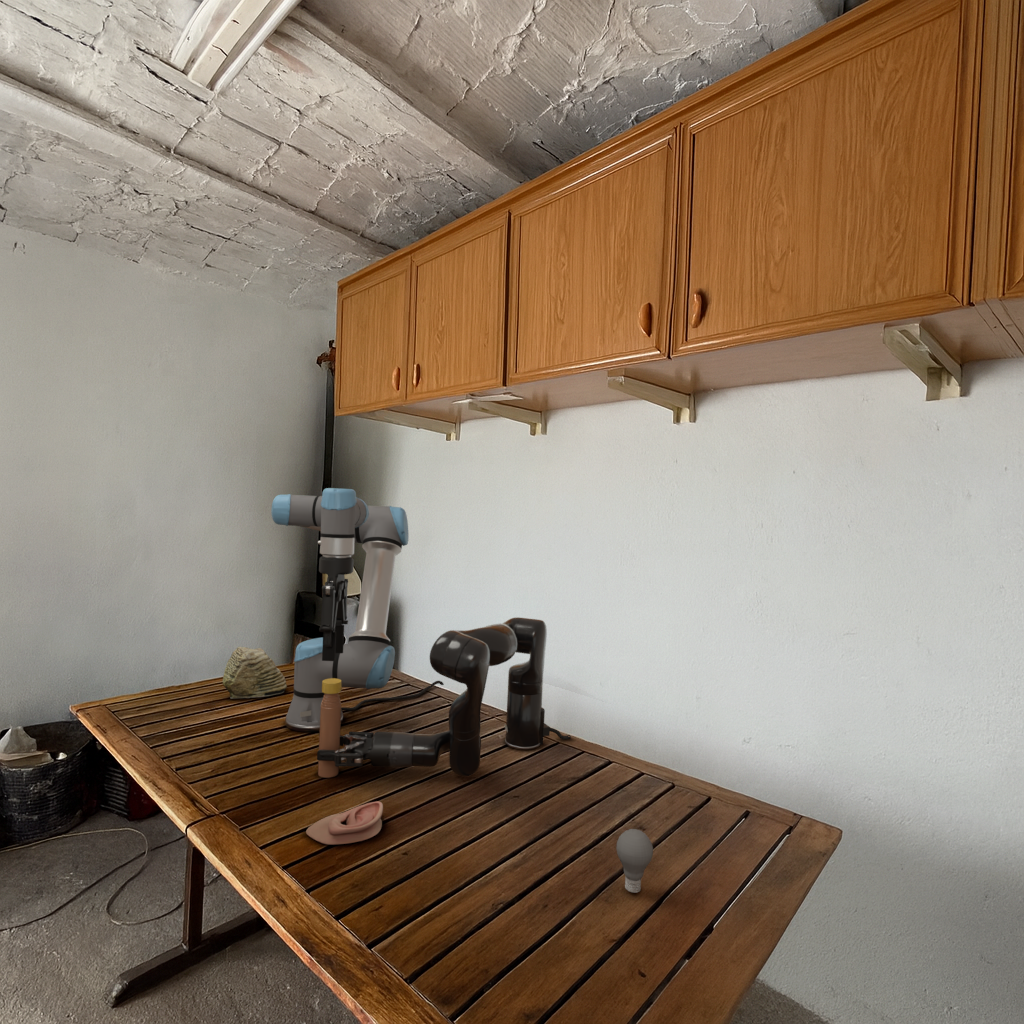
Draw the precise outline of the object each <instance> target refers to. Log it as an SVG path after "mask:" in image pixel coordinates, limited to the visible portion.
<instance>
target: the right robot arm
mask: <svg viewBox="0 0 1024 1024" xmlns="http://www.w3.org/2000/svg"><path fill="white" fill-rule="evenodd" d="M546 624H547V623H546V622H545V621H544V620H542V619H537V618H528V617H517V616H516V617H512V618H509V619H507V620H506V621H504V622H501V623H493V624H489V625H486V626H482V627H477V628H472V629H467V630H459V629H453V630H452V629H451V630H447V631H445V632H443V633H442V634H441V635H440V636H439V637H437V639H436V640H435V641H434V643H433V644H432V646H431V648H430V652H429V663H430V667H431V668H432V669H433V671H435V672H436V673H437V674H439V675H441V676H443V677H445V678H447V679H450V680H453V681H455V682H457V683H460V684H464V685H465V686H466V689H465V690H464V691H463V692H462V693H461V694H459V695H458V696H457V697H456V698H455V699H454V700H453V701H452V703H451V705H450V707H449V710H448V730H446V731H441V732H438V733H433V734H429V733H427V734H426V733H425V734H423V733H409V732H402V731H401V732H400V731H399V732H397V731H396V732H395V731H376V732H369V731H366V732H365V731H349V732H348V733H346V734H344V735H340V747H343V746H344V747H343V748H340V749H339V750H319V749H318V750H317V752H316V760H317V761H318V760H319V761H334V762H335V766H339V767H349V768H351V767H359V768H360V767H363V765H364V761H365V760H370V765H371V767H374V768H409V767H410V768H411V767H416V768H419V767H420V768H434V767H436V766H437V765H438V763H439V761H440V758H441V755H442V754H443V753H445V752H448V751H449V756H448V757H449V758H448V764H449V768H450V769H451V771H452V772H453V773H454V774H455V775H457V776H459V777H463V778H464V777H465V778H467V777H472V776H473V775H475V774H476V772H477V771H478V770H479V768H480V765H481V754H482V753H481V751H482V737H481V728H482V727H481V718H482V717H481V710H482V705H483V700H484V699H483V698H484V694H485V690H486V684H487V679H488V674H489V669H490V667H493V666H494V667H495V666H499V665H501V664H503V663H506V662H508V661H510V660H511V659H512V658H513V657H514V656H515V654H516V653H518V654H524V655H525V654H526V655H529V659H528V660H527V661H524V662H521V663H516V664H513V665H512V666H510V667H509V669H508V672H507V673H508V675H507V676H508V677H507V695H506V696H507V697H506V699H507V700H506V719H505V720H506V721H505V722H506V723H504V729H505V738H504V743H505V745H506V746H507V747H509V748H512V749H515V750H523V751H524V750H525V751H526V750H528V751H529V750H535V749H537V748H539V747H540V746H543V745H544V738H545V737H549V736H550V735H551V734H550V733H554V734H555V735H556V736H557V737H558V738H559V739H560V740H563V741H567V740H568V741H569V740H571V739H572V737H571V735H570V734H567V735H562V733H561V732H560V731H559V730H558V729H556V728H554V727H551V726H549V725H548V724H546V723H545V716H546V715H545V712H546V710H545V708H544V707H543V691H544V690H543V689H544V688H543V687H544V670H545V660H546V659H545V658H546V647H547V640H548V639H547V637H548V628H547V625H546ZM568 736H570V737H568Z"/></svg>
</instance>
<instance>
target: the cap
mask: <svg viewBox="0 0 1024 1024" xmlns="http://www.w3.org/2000/svg"><path fill="white" fill-rule="evenodd" d="M341 686H342V682H341V680H340V679H336V678H330V679H325V680H323V681H322V692H323V693H325V694H336V693H338V694H339V693H342V687H341Z"/></svg>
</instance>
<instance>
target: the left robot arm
mask: <svg viewBox="0 0 1024 1024" xmlns="http://www.w3.org/2000/svg"><path fill="white" fill-rule="evenodd" d="M407 516H408V515H407V512H406V510H405V509H404V508H403V507H401V506H392V505H368V504H367V503H366V502H365V501H364V500H363V499H361V498H359V497H357V493H356V490H354V489H352V488H337V487H336V488H335V487H328V488H327V487H326V488H324V489H323V491H322V495H303V494H292V493H288V494H277V495H276V496H275V497H274V499H273V500H272V503H271V518H272V521H273V522H274V524H275V525H279V526H286V527H288V526H289V527H290V526H291V527H292V526H295V527H300V528H306V529H311V530H314V531H318V532H320V540H318V541H317V544H318V545H319V554H320V555H322V556H320V557H319V560H318V563H319V564H318V572H319V573H320V574H322V575H326V576H327V577H326V581H325V582H324V584H323V585H322V587H321V594H322V595H321V597H322V598H321V612H320V613H321V614H320V627H319V628H318V632H320V633H322V637H315V638H311V639H307V640H304V641H302V642H300V643H298V644H297V645H296V648H295V655H294V660H293V662H294V672H293V695H292V696H293V697H292V699H291V702H290V704H289V708H288V711H287V713H286V715H285V726H286V728H287V729H289V730H291V731H294V732H295V731H296V732H301V733H316V732H320V709H321V702H322V700H323V696H324V695H325V693H323V692H322V681H323V680H325V679H330V678H336V679H340V680H341V682H342V686H341V688H350V689H352V688H353V689H354V688H355V689H366V690H370V689H382V688H384V687H385V686H386V685H387V684H388V683H389V681H390V678H391V675H392V672H393V668H394V664H395V657H396V656H395V655H396V650H395V647H394V646H392V645H391V639H390V638H389V637H388V635H387V628H388V627H387V626H388V620H389V611H390V603H391V597H392V587H393V581H394V580H393V579H394V571H395V564H396V557H397V556H398V555H399V554H401V552H402V549H403V547H405V546H407V545H408V544H409V523H408V517H407ZM355 544H362V545H361V547H362V549H363V551H364V552H365V553H366V554H365V561H364V567H363V574H362V580H361V581H362V582H361V589H360V594H359V602H358V609H357V617H356V623H355V628H354V629H355V630H354V632H353V633H351V634H350V635H349V636H348V641H347V643H344V641H345V625H348V624H349V620H347V619H348V588H349V587H348V586H349V579H348V578H346V577H345V575H351V574H353V572H354V564H355V563H354V561H355V559H354V557H353V556H354V555H355ZM438 684H439V685H440V686H444V684H445V683H444V682H443V681H441V680H435V681H434V682H432V683H431V684H430V685H431V686H429V685H428V686H426V687H424V688H423V689H422V690H421V691H419V692H418V693H414V694H410V695H409V694H408V695H402V696H392V697H373V698H368V699H367V698H366V699H364V700H361V701H359V702H358V704H356V705H355V706H352V707H347V706H344V707H343V706H341V724H342V723H343V722H344V714H343V712H354V711H356V710H357V709H360V707H361V706H362V705H364V704H367V703H372V702H391V701H401V700H408V699H413V698H418V697H420V696H423V694H424V693H425V692H427V691H428V690H429V689H431V688H433V687H434V686H436V685H438Z"/></svg>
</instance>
